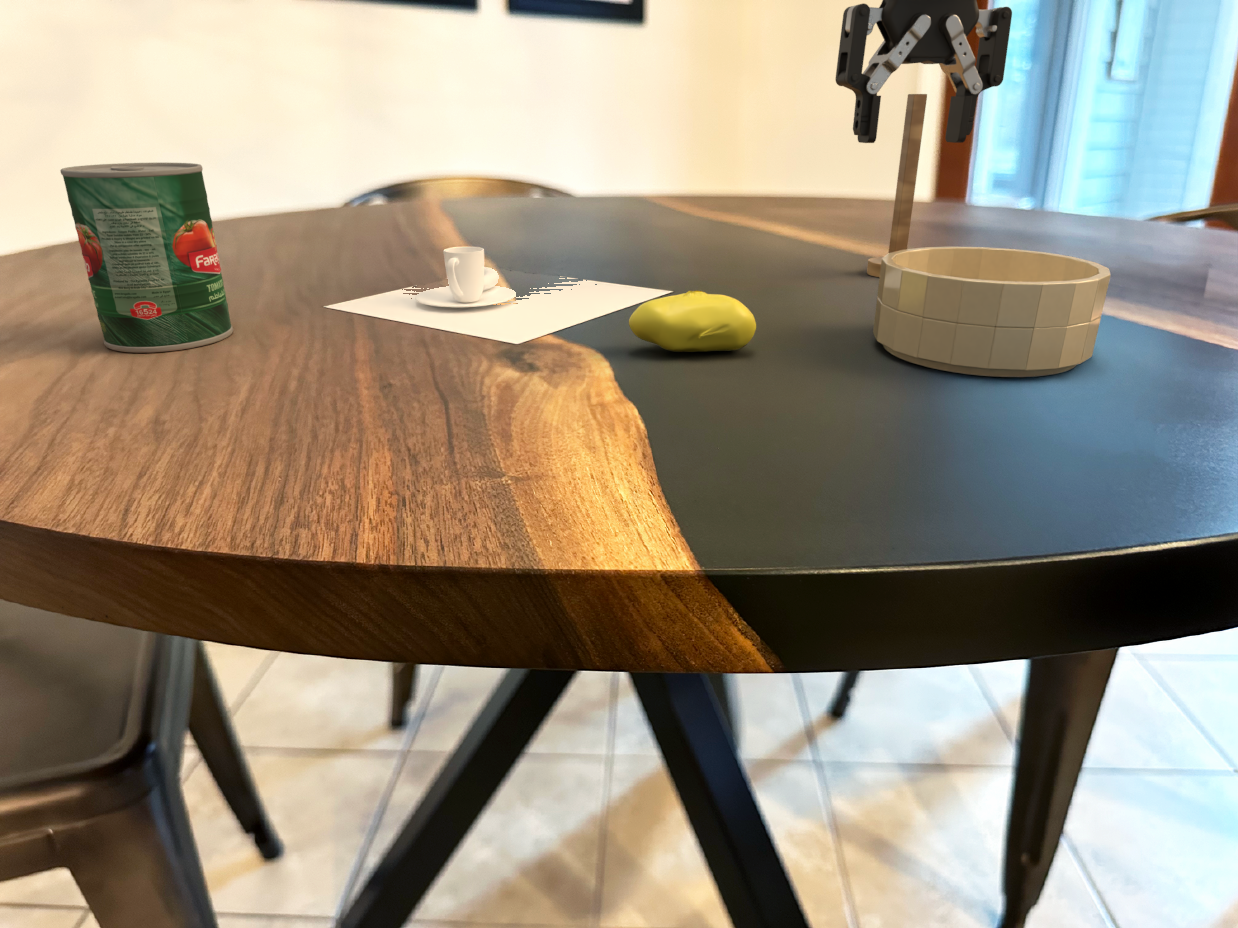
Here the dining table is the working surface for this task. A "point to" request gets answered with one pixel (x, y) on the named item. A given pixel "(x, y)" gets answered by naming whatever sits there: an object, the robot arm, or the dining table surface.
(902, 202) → the flat wooden stick
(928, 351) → the bowl
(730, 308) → the lemon
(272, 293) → the dining table surface
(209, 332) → the canned tomato
